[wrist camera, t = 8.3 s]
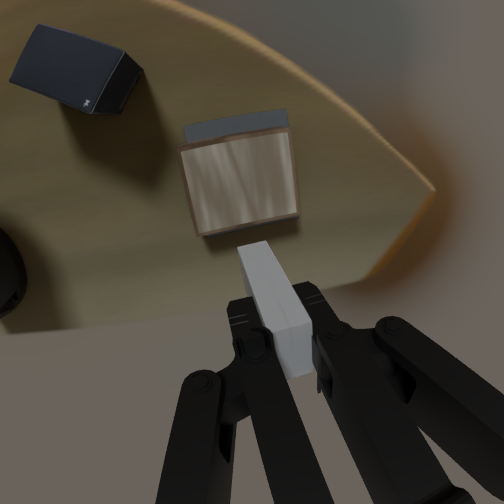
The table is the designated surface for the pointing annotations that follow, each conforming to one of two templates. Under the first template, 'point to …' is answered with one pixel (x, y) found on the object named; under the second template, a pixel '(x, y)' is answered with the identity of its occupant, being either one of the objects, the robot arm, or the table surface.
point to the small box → (76, 70)
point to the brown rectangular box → (239, 179)
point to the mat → (236, 126)
